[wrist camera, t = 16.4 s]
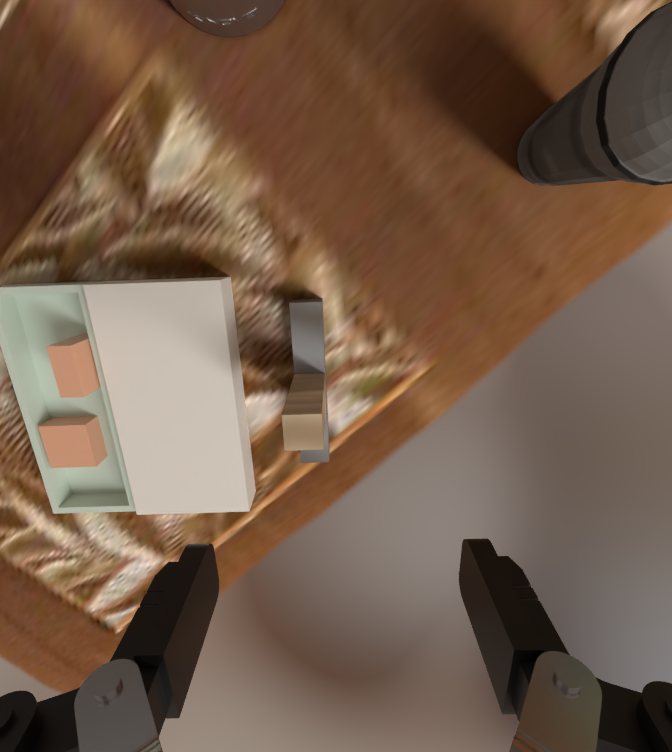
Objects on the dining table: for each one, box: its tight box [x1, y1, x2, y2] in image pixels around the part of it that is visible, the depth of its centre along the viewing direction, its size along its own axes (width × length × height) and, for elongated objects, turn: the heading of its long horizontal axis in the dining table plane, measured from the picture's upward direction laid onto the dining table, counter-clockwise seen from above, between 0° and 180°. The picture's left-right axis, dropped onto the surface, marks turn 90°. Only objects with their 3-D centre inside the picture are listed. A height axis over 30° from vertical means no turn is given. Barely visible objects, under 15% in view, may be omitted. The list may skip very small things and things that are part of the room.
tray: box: [0, 281, 136, 513], centre depth 34 cm, size 20×8×2 cm, turn 2°
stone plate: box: [83, 277, 256, 515], centre depth 33 cm, size 20×10×3 cm, turn 2°
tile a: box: [46, 334, 101, 398], centre depth 31 cm, size 4×4×2 cm
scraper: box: [282, 299, 329, 463], centre depth 30 cm, size 14×2×10 cm, turn 2°
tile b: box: [38, 416, 108, 468], centre depth 35 cm, size 4×4×2 cm
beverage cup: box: [517, 2, 672, 186], centre depth 19 cm, size 7×7×20 cm
